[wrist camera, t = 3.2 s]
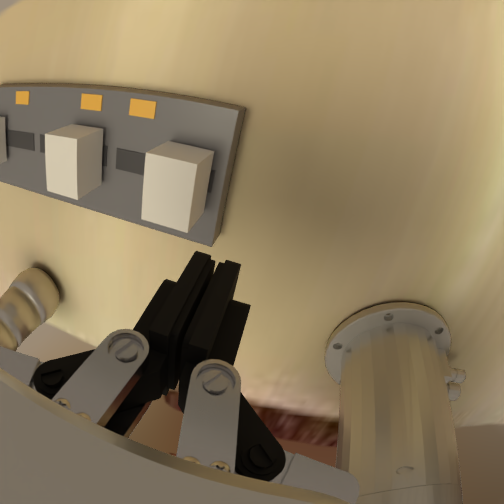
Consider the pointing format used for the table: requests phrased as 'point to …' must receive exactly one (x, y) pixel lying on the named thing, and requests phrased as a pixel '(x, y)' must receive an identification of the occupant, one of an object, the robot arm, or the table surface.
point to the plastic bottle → (26, 306)
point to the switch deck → (120, 143)
